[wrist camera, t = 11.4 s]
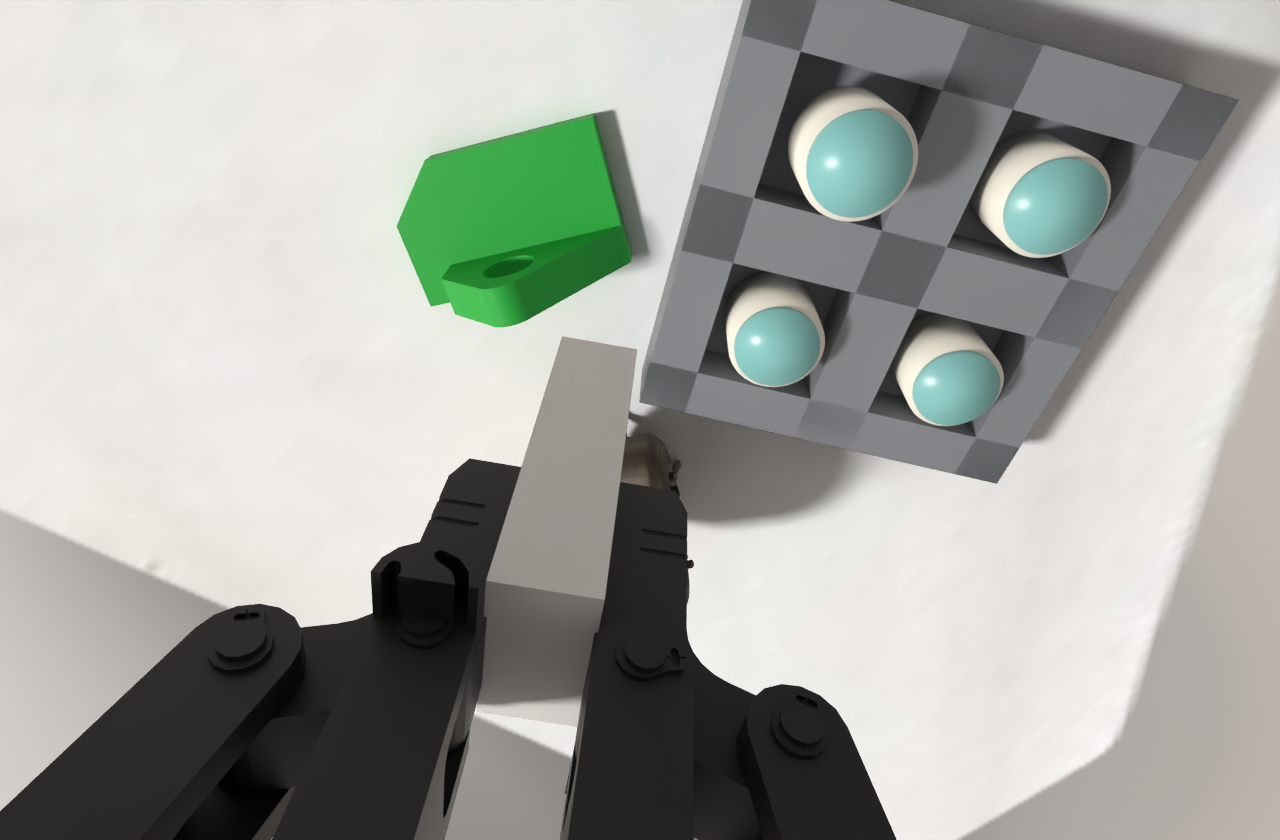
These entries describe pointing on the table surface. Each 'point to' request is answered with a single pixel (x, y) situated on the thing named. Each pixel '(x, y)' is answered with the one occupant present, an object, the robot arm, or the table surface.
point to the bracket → (515, 222)
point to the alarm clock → (650, 468)
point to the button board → (910, 223)
